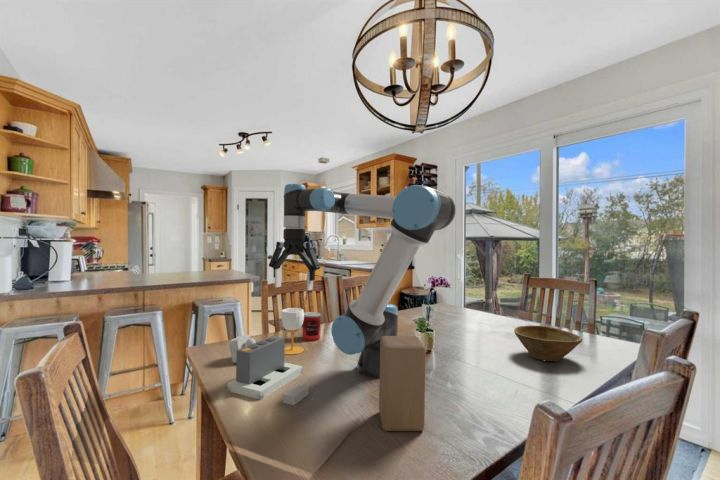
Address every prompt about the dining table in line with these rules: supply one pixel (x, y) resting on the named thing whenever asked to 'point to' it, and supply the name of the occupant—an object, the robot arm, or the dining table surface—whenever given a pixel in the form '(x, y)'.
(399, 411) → the wooden block
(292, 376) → the keyhole board
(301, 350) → the cup
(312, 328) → the canned food
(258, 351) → the grey slotted block
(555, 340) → the bowl
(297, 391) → the foam block
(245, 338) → the wall hook
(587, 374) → the dining table surface
